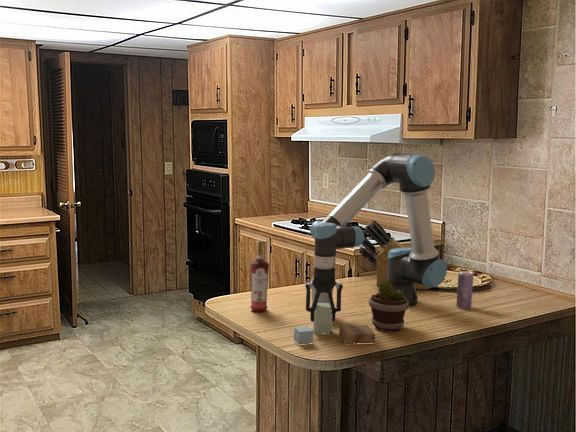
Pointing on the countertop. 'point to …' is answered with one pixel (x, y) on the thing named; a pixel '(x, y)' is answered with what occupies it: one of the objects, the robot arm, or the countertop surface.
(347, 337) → the walnut block
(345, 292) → the countertop surface
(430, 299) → the countertop surface
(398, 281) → the robot arm
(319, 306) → the sage block
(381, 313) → the flowerpot
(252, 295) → the liquor
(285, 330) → the countertop surface
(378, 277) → the knife block
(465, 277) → the beverage can
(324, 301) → the coffee cup
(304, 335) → the blue-grey cube
